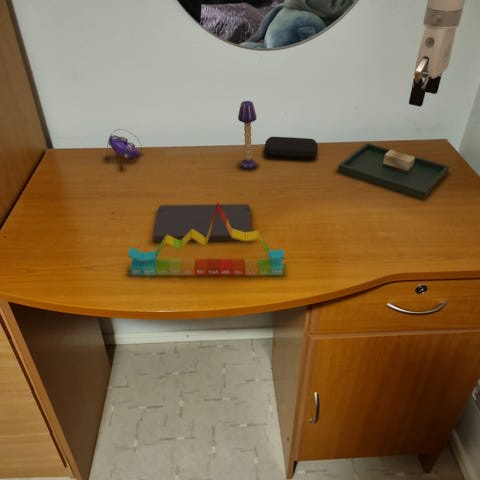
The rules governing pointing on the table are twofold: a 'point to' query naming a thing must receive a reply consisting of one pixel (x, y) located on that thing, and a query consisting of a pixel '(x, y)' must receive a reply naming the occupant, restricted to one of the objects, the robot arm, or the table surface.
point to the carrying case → (291, 148)
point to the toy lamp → (247, 132)
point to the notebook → (201, 221)
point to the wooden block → (398, 162)
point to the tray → (393, 172)
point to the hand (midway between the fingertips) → (422, 98)
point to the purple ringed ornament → (123, 147)
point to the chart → (153, 266)
